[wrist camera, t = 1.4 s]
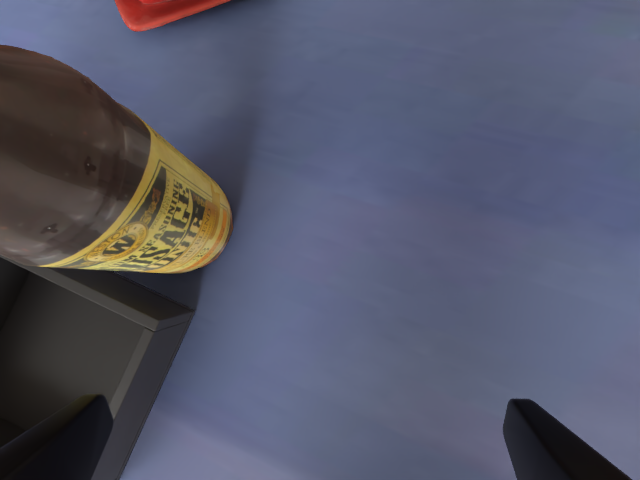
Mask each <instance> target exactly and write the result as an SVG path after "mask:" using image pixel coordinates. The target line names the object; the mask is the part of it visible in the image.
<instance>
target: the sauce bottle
mask: <svg viewBox="0 0 640 480" xmlns="http://www.w3.org/2000/svg"><path fill="white" fill-rule="evenodd" d="M232 230H233V224H232V212H231V209H230V205H229V202H228V200H227V197H226V195H225V194H224V192H223V191H222V189H221V188H220V187H219V185H218V184H217V183H216V182H215V181H214V180H213V179H212V178H210V177H209V176H208V175H207V174H206V173H205V172H203V171H202V170H201V169H200V168H199V167H197V166H196V165H195V164H194V163H192V162H191V161H190V160H189V159H188V158H186V157H185V156H184V155H183V154H182V153H180V152H179V151H178V150H177V149H176V148H174V147H173V146H172V145H171V144H170V143H169V142H167V141H166V140H165V139H164V138H163V137H162V136H160V135H159V134H158V133H157V132H156V131H154V130H153V129H152V128H151V127H150V126H149V125H148V124H146V123H145V122H144V121H143V120H142V119H140V118H139V117H138V116H137V115H136V114H135V113H133V112H132V111H131V110H129V109H128V108H126V107H124V106H123V105H121V104H119V103H117V102H116V101H115V100H114V99H112V98H111V97H110V96H109V95H108V94H107V93H106V92H104V91H103V90H102V89H101V88H99V87H98V86H97V85H96V84H95V83H93V82H92V81H91V80H90V79H89V78H88V77H86V76H84V75H83V74H81V73H80V72H78V71H77V70H75V69H73V68H72V67H70V66H68V65H66V64H64V63H62V62H60V61H58V60H55V59H54V58H52V57H50V56H46V55H43V54H40V53H37V52H34V51H29V50H25V49H22V48H18V47H13V46H7V45H0V255H2V256H4V257H7V258H9V259H11V260H14V261H16V262H18V263H21V264H24V265H28V266H40V267H53V268H74V269H87V270H89V269H93V270H108V271H132V272H151V273H168V274H174V273H184V272H188V271H192V270H194V269H197V268H200V267H204V266H206V265H207V264H209V263H211V262H212V261H214V260H216V259H217V257H218V256H219V255H220V254H221V252H222V251H223V249H224V248H225V246H226V244H227V242H228V241H229V237H230V236H231V233H232Z"/></svg>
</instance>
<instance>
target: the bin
mask: <svg viewBox="0 0 640 480" xmlns="http://www.w3.org/2000/svg"><path fill="white" fill-rule="evenodd" d="M194 314H195V310H193V309H191V308H188V307H186V306H184V305H182V304H180V303H178V302H176V301H174V300H171V299H169V298H167V297H165V296H163V295H161V294H159V293H157V292H154V291H152V290H150V289H148V288H146V287H144V286H142V285H140V284H137V283H135V282H133V281H131V280H129V279H127V278H125V277H123V276H120V275H118V274H116V273H114V272H112V271H108V270H93V269H89V270H87V269H74V268H53V267H40V266H28V265H24V264H21V263H18V262H16V261H14V260H11V259H9V258H7V257H4V256H2V255H0V448H1V447H3V446H4V445H6V444H7V443H9V442H10V441H12V440H14V439H15V438H17V437H18V436H20V435H21V434H23V433H24V432H26V431H27V430H29V429H31V428H32V427H34V426H35V425H37V424H38V423H40V422H41V421H43V420H45V419H46V418H48V417H49V416H51V415H52V414H54V413H55V412H57V411H58V410H60V409H62V408H63V407H65V406H66V405H68V404H69V403H71V402H72V401H74V400H76V399H77V398H79V397H80V396H82V395H84V394H103V395H104V396H105V397H106V399H107V402H108V405H109V408H110V410H111V413H112V416H113V420H114V425H113V430H112V433H111V435H110V437H109V440H108V442H107V444H106V447H105V449H104V452H103V454H102V456H101V459H100V461H99V463H98V466H97V468H96V470H95V473H94V475H93V477H92V480H119V479H120V476H121V474H122V472H123V470H124V468H125V465H126V463H127V461H128V459H129V457H130V454H131V452H132V450H133V448H134V446H135V443H136V441H137V439H138V437H139V435H140V432H141V430H142V428H143V426H144V424H145V421H146V419H147V417H148V415H149V413H150V410H151V408H152V406H153V404H154V402H155V399H156V397H157V395H158V393H159V391H160V388H161V386H162V384H163V382H164V380H165V377H166V375H167V373H168V371H169V369H170V366H171V364H172V362H173V360H174V358H175V355H176V353H177V351H178V349H179V347H180V345H181V342H182V340H183V338H184V336H185V334H186V331H187V329H188V327H189V325H190V323H191V320H192V318H193V316H194Z"/></svg>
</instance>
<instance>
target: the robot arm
mask: <svg viewBox="0 0 640 480" xmlns="http://www.w3.org/2000/svg"><path fill="white" fill-rule="evenodd" d="M113 425H114V420H113V416H112V413H111V410H110V408H109V405H108V402H107V399H106V397H105V396H104V395H103V394H84V395H82V396H80V397H79V398H77V399H76V400H74V401H72V402H71V403H69V404H68V405H66V406H65V407H63V408H62V409H60V410H58V411H57V412H55V413H54V414H52V415H51V416H49V417H48V418H46V419H45V420H43V421H41V422H40V423H38V424H37V425H35V426H34V427H32V428H31V429H29V430H27V431H26V432H24V433H23V434H21V435H20V436H18V437H17V438H15V439H14V440H12V441H10V442H9V443H7V444H6V445H4V446H3V447H1V448H0V480H92V477H93V475H94V473H95V470H96V468H97V466H98V463H99V461H100V459H101V456H102V454H103V452H104V449H105V447H106V444H107V442H108V440H109V437H110V435H111V433H112V430H113ZM503 434H504V439H505V442H506V445H507V448H508V451H509V455H510V458H511V461H512V464H513V468H514V471H515V474H516V477H517V480H632V479H631V478H629V477H628V476H627V475H626V474H624V473H623V472H622V471H621V470H619V469H618V468H617V467H616V466H614V465H613V464H612V463H611V462H609V461H608V460H607V459H606V458H604V457H603V456H602V455H601V454H599V453H598V452H597V451H596V450H594V449H593V448H592V447H591V446H589V445H588V444H587V443H585V442H584V441H583V440H582V439H580V438H579V437H578V436H577V435H575V434H574V433H573V432H572V431H570V430H569V429H568V428H567V427H565V426H564V425H563V424H562V423H560V422H559V421H558V420H557V419H555V418H554V417H553V416H552V415H550V414H549V413H548V412H547V411H545V410H544V409H543V408H541V407H540V406H539V405H538V404H536V403H535V402H534V401H532V400H530V399H511V400H510V401H509V402H508V405H507V410H506V414H505V419H504V424H503Z"/></svg>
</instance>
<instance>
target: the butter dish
mask: <svg viewBox="0 0 640 480" xmlns="http://www.w3.org/2000/svg"><path fill="white" fill-rule="evenodd" d="M229 1H231V0H115V2H116V5H117V7H118V11H119V12H120V14H121V17H122V18H123V21H124V22H125V24H126V25H127V26H128V28H130V29H131V30H133V31H145V30H149V29H152V28H156V27H159V26H163V25H165V24H167V23H170V22H173V21H176V20H179V19H182V18H184V17H187V16H190V15H193V14H196V13H198V12H201V11H204V10H207V9H210V8H212V7H215V6H218V5H220V4H224V3H226V2H229Z"/></svg>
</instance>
